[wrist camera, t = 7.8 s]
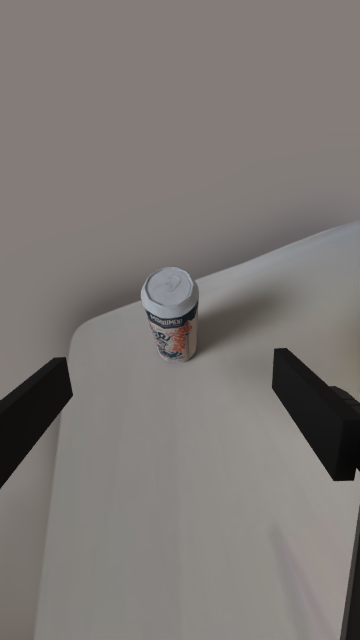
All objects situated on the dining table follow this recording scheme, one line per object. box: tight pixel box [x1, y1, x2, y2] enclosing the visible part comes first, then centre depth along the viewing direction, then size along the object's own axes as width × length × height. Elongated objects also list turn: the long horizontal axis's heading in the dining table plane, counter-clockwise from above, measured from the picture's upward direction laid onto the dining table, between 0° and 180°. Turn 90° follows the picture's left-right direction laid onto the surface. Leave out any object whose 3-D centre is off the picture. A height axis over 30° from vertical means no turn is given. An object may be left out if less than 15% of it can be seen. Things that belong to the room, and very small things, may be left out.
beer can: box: [141, 267, 199, 363], centre depth 24 cm, size 5×5×12 cm
